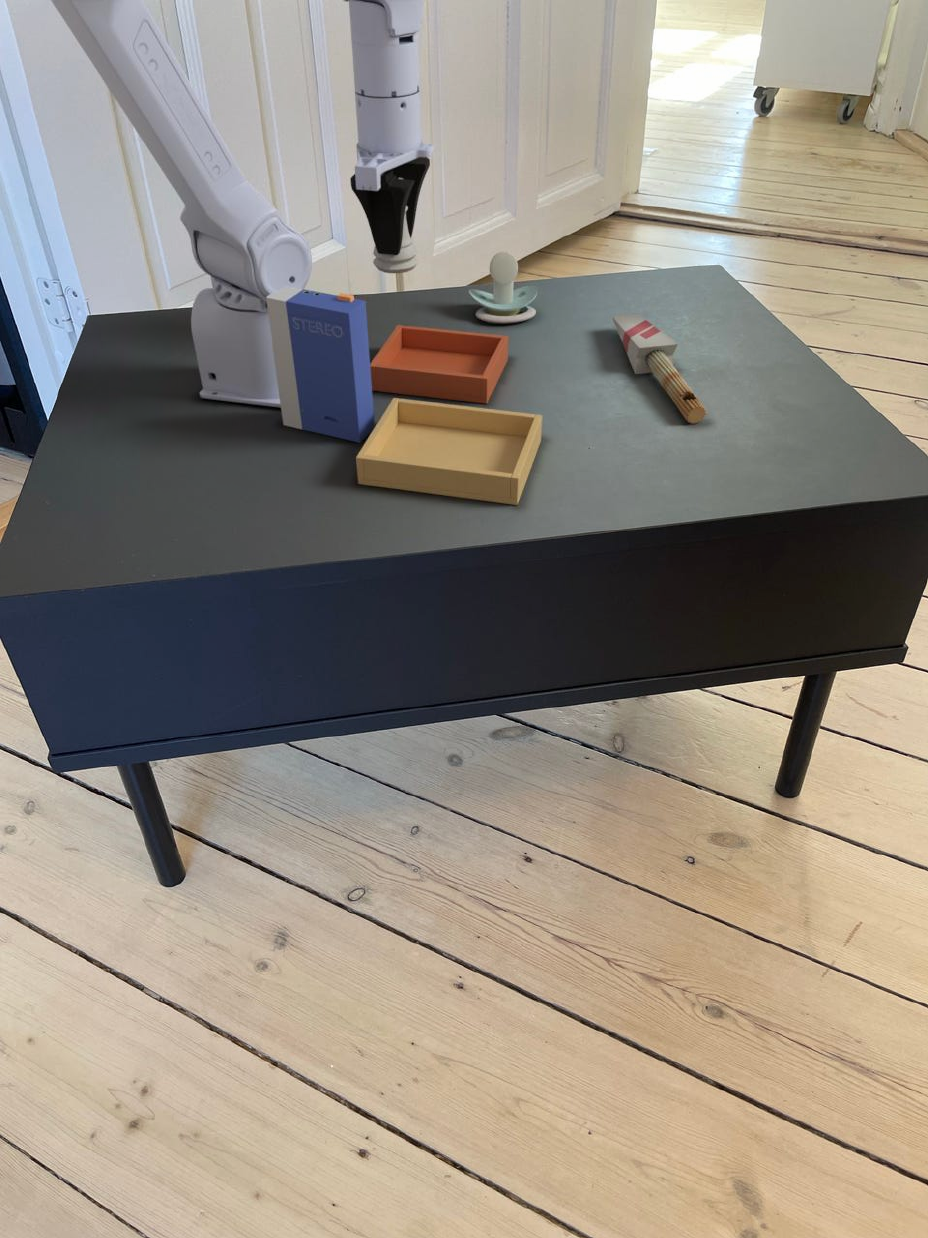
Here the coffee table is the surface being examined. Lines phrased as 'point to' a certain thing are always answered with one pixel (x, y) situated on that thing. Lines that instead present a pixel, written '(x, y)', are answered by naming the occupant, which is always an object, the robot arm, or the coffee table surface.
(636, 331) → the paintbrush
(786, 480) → the coffee table surface
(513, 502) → the birch tray
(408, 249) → the rook chess piece
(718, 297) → the coffee table surface
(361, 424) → the walkman
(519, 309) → the pacifier
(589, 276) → the coffee table surface
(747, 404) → the coffee table surface
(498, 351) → the terracotta tray
